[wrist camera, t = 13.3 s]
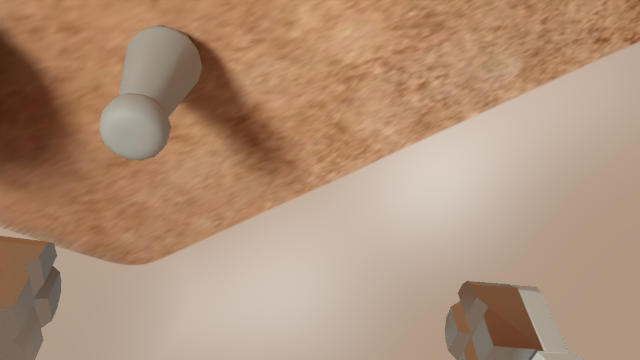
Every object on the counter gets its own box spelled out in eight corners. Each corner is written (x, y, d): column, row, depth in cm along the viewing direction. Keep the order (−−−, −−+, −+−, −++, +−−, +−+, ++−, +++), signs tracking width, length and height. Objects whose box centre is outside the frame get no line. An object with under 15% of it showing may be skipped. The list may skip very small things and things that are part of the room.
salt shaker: (218, 41, 44) (194, 128, 33) (186, 93, 46) (156, 189, 36) (149, 1, 41) (102, 81, 31) (121, 59, 44) (68, 150, 34)
